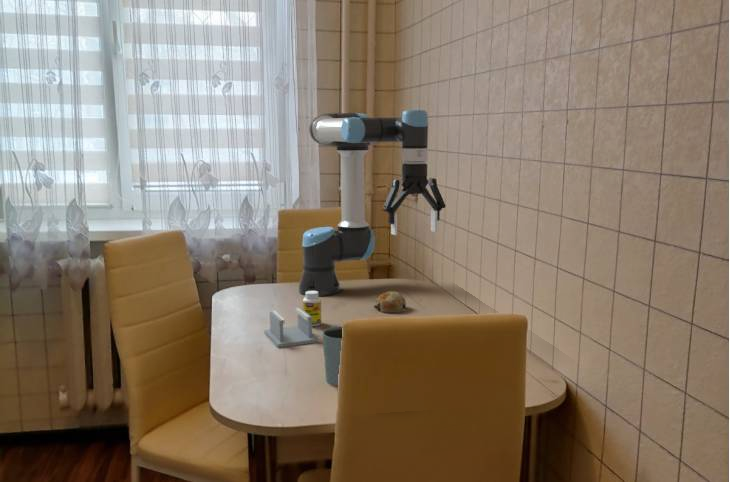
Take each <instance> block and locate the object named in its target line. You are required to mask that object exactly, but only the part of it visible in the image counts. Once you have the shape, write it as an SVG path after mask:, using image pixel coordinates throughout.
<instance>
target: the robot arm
mask: <svg viewBox="0 0 730 482" xmlns="http://www.w3.org/2000/svg"><path fill="white" fill-rule="evenodd" d="M308 130H309V135H310V137H311V139H312V140H313V141H314V142H315V143H317V144H319V145H322V146H327V147H336V152H337V153H338V154H339V155H340V182H341V185H340V186H341V187H340V188H341V189H340V190H341V197H340V198H341V220H340V222H339V223H338V224H337V230H335V228H334V227H332V226H322V227H321V226H320V227H315V228H311V229H308V230H306V231H305V232H304V233H303V234H302V244H301V246H302V269H303V270H302V274H301V278H300V281H299V284H298V292H299V294H301V295H303V296H305V292H307V291H318V295H319V297H325V296H332V295H336V294H339V292H340V291H341V284H340V282H339V278H338V276H337V273H336V268H335V267H336V263H339V262H349V261H361V260H362V261H363V260H367V259H369V258H370V257H371V256H372V254H373V252H374V250H375V246H376V245H375V243H376V236H375V233H374V230H373V229H372V228H370V224H369V223H368V222H367V221H366V216H365V215H366V212H365V205H366V203H365V201H366V200H365V199H366V198H365V196H366V195H365V188H366V187H365V155H366V154H367V153H368V152H369V147H370V146H372V145H373V143H401V149H402V150H401V156H402V157H401V160H402V162H403V163H402V165H401V175H402V179H401V180H400V179H392V183H391V188H390V190H389V192H388V195H387V197H386V200H385V201H384V204H383V206H382V211H383V212H386V213H387V214H388V224H390V234H391V235H393V236H398V213H396V211H397V210H398V209H399V208H400V206H401V205H402V203H403V202H404V200H405V199H406V198H407V197H408V196H409V195H415V194H416V195H417V194H418V195H422V196H423V197H424V199H425V200H426V202H427V203H428V204H429V205H430V207H431V208H432V209H431V210H430V232H433V233H438V222H439V221H440V213H441V211H442V209H445V208H446V203H445V201H444V199H443V197H442V194H441V192H440V189H439V187H438V184H437V183H438V182H437V178H436V177H435V178H434V177H430V178H428V177H427V176H428V164H427V163H426V162H427V161H428V145H429V144H428V137H429V136H428V135H429V132H428V131H429V119H428V112H427V110H425V109H407V110H403V112H402V114H401V116H400V117H399V116H397V117H396V116H392V117H390V116H389V117H387V116H386V117H385V116H384V117H378V116H377V117H370V116H368V115H367V114H366V113H359V112H358V113H357V112H349V113H348V112H347V113H346V112H345V113H343V112H341V113H340V112H335V113H333V112H328V113H323V114H319V115H316V116H315V117H314V118H313V119H312V121H311V122H310V124H309V129H308ZM401 186H402V189H401V190H400V188H401ZM427 186H429V188H430V190H431V193H432V194H431V193H430V191H429V190H428V189H427ZM399 190H400V191H399ZM398 192H399V194H398ZM397 194H398V195H397ZM432 195H433V196H432ZM433 197H434V198H433Z"/></svg>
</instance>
